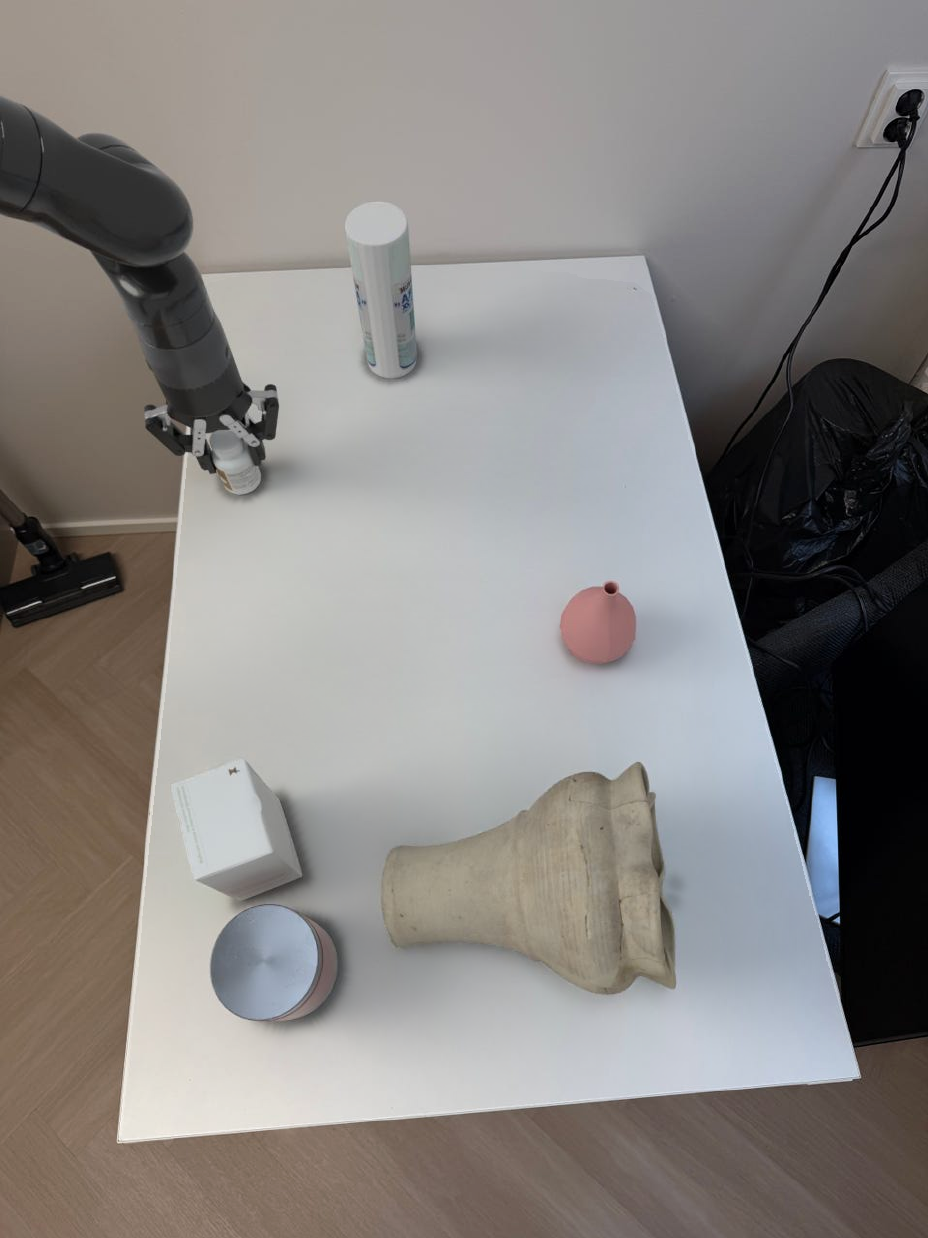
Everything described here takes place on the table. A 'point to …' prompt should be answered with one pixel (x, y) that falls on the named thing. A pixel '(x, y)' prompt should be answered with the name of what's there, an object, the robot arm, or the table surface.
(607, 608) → the pink bud vase
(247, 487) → the pill bottle
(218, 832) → the cosmetic box
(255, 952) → the tin can
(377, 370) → the spray can
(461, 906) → the vase
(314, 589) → the table surface
